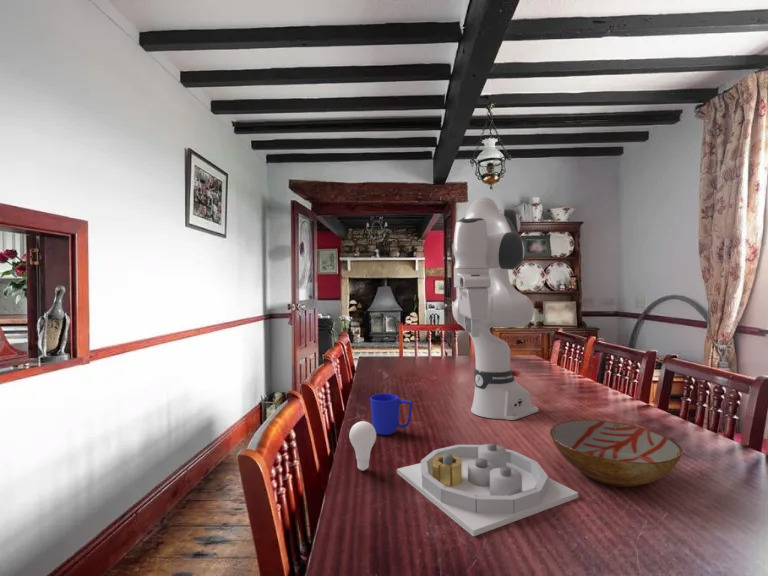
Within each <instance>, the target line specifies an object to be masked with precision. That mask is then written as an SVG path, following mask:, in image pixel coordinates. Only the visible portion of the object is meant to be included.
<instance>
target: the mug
mask: <svg viewBox="0 0 768 576" xmlns="http://www.w3.org/2000/svg"><path fill="white" fill-rule="evenodd" d="M369 401H370V411H371V412H370V413H371V424H372V426H373V427H374V428H375V431H376V435H380V436H389V435H392V434H394V433H395V432H396V431H397V428H400V429H401V428H402V429H405V428H407V427H408V426H409V425H410V422H411V419H412V411H413V402H412V400H406V399H405V400H404V399H400V397H399V396H398V395H397V394H393V393H376V394H374V395H371V396H370V397H369ZM401 404H408V405H409V409H408V410H409V411H408V418H407V421H406V422H405V423H404V424H400V423H399V414H400V405H401Z"/></svg>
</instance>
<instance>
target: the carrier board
mask: <svg viewBox="0 0 768 576" xmlns="http://www.w3.org/2000/svg"><path fill="white" fill-rule="evenodd" d="M442 454H443V464H453V458H452V455H454V456H457V457H459V458H461V459H462V469H463V480H462V483H460V485H456V486H453V487H452V486H450V487H448V486H444V485H443V484H442V483H440V482H439V481H437V480H436V479H435V478H433V471H432V460H433V458H434V457H435V456H438V455H442ZM396 474H397V475H398V476H400V478H402V479H404V481H406V482H407V483H408V484H409V485H411V486H412V487H413V488H414V489H416V491H418V492H419V493H420V494H421V495H423V497H424V498H426V499H427V500H429V501H430V502H431V503H432V504H433V505H435V506H436V507H437V508H438V509H440V510H441V511H442V512H443V513H444V514H445V515H447V517H449V518H450V519H452V521H454V522H455V523H456V524H457V525H459V526H460V527H461V528H463V530H465V531H466V532H467V533H468V534H470V535H471V536H472V537H477V536H479V535H482V534H484V533H487V532H489V531H492V530H494V529H497V528H501V527H503V526H505V525H508V524H511V523H514V522H516V521H519V520H521V519H524V518H527V517H531V516H533V515H536V514H538V513H541V512H543V511H547V510H548V509H552V508H554V507H557V506H560V505H563V504H565V503H568V502H570V501H573V500H576V499H579V492H578V491H576V490H574V489H572V488H570V487H568V486H566V485H564V484H562V483H560V482H558V481H556V480H554V479H552V478H551V477H549V476H548V474H547V473H546V472H545V471H544V469H543V468H542V466H541V465H540V464H539V462H538V461H536V460H534V459H533V458H531V457H528V456H526V455H524V454H521V453H520V452H517V451H515V450H513V449H512V450H511V449H507V448H505V447H504V446H501V445H498V444H496V443H493V442H489V443H485V444H454V445H450V446H446V447H442V448H438V449H433V450H432V451H431V452H429V453H428V454H427V455H426V456H424V457H423V458H422V459H421V460H420V462H419V463H415V464H411V465H407V466H401V467H400V468H397V469H396Z"/></svg>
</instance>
